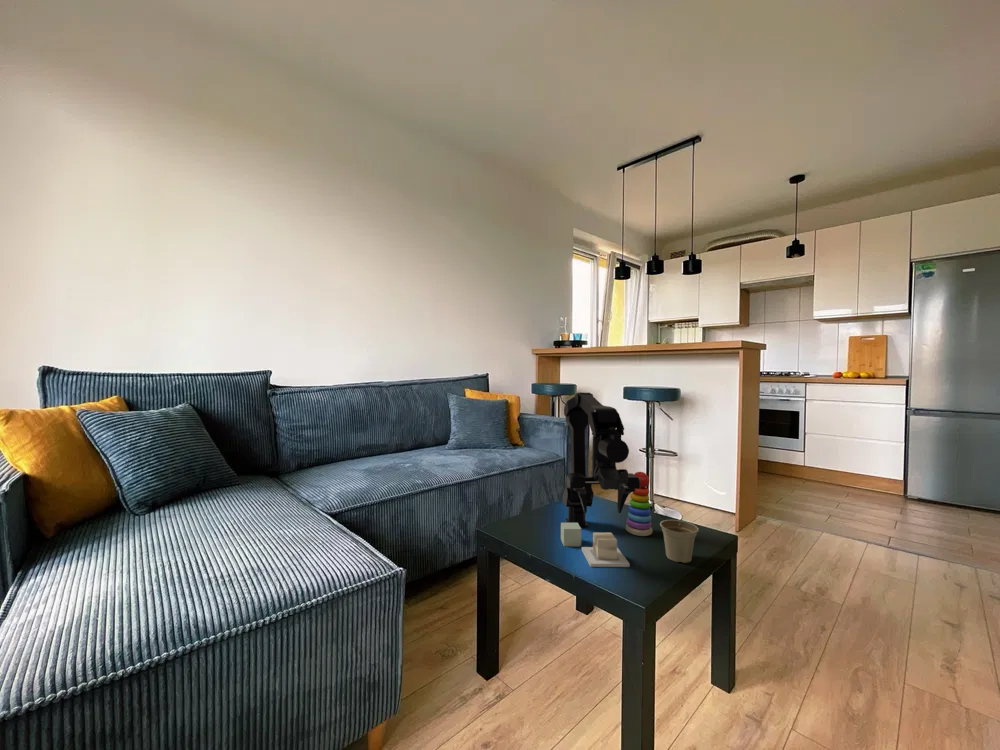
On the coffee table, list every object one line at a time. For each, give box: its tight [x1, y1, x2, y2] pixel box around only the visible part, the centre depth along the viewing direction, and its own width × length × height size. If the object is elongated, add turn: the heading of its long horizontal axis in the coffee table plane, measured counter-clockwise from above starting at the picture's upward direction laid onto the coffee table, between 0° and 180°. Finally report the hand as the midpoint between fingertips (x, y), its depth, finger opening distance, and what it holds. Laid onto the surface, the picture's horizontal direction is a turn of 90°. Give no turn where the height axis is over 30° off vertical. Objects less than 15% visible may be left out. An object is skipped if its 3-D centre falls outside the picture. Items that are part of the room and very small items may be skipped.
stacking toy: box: [625, 471, 654, 537], centre depth 127 cm, size 8×8×19 cm
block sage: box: [560, 522, 582, 547], centre depth 118 cm, size 5×5×5 cm
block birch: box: [592, 532, 618, 559], centre depth 108 cm, size 5×5×5 cm
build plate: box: [581, 546, 631, 568], centre depth 108 cm, size 10×10×1 cm
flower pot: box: [659, 519, 699, 564], centre depth 109 cm, size 9×9×9 cm
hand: (602, 512), depth 109 cm, fingers open, 9 cm apart
